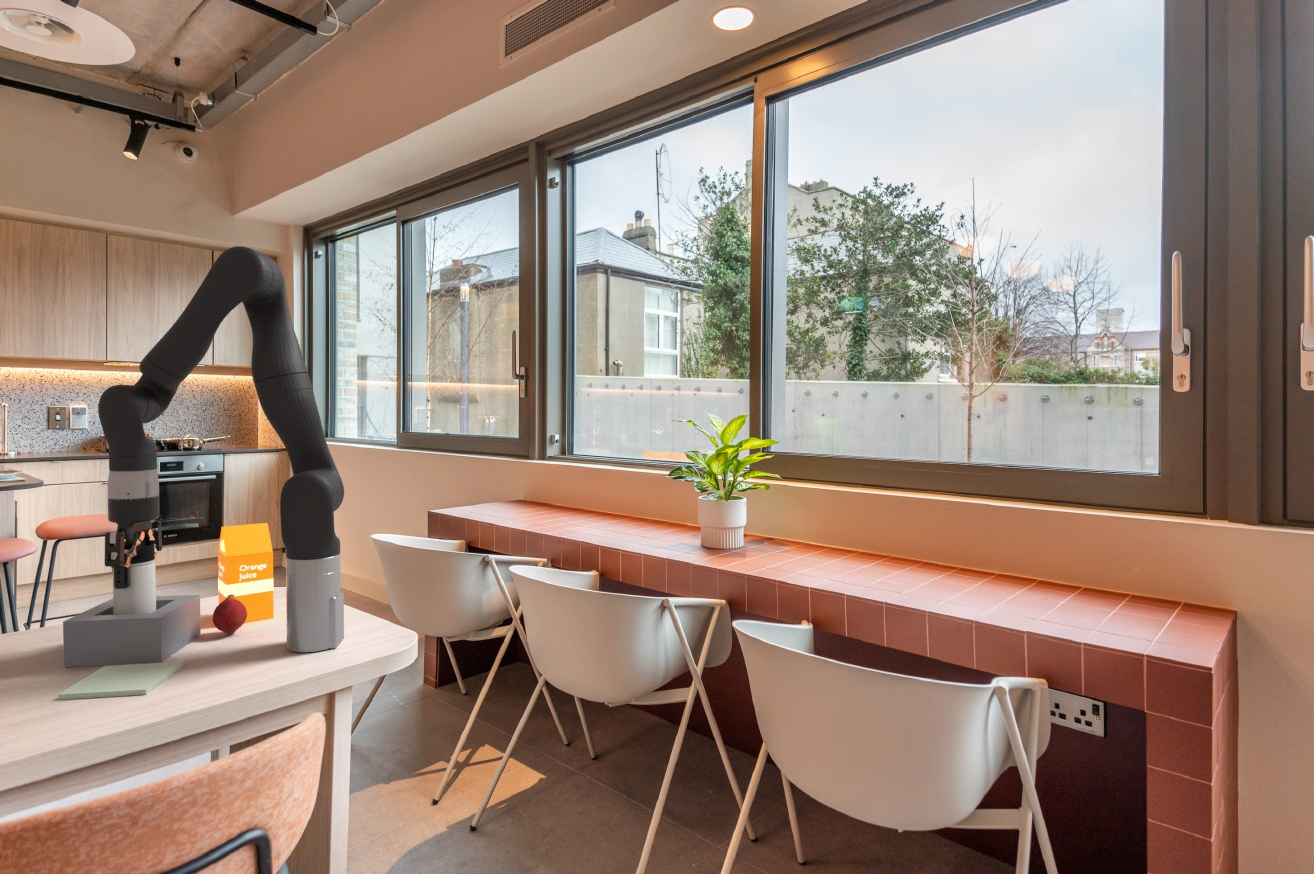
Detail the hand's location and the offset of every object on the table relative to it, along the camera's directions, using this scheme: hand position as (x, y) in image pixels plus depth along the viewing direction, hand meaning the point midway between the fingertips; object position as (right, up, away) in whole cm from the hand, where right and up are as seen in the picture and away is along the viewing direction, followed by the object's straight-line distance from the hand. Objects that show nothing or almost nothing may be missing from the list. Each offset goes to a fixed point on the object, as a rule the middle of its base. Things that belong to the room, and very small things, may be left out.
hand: (135, 582), depth 127 cm
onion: (+11, -13, +10) cm, 20 cm away
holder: (0, -13, +1) cm, 13 cm away
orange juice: (+8, -12, +21) cm, 25 cm away
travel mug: (0, -13, +1) cm, 13 cm away
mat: (+9, -13, -14) cm, 21 cm away
